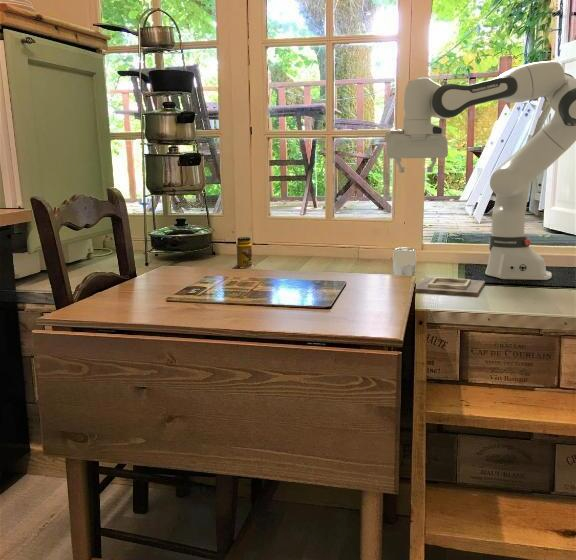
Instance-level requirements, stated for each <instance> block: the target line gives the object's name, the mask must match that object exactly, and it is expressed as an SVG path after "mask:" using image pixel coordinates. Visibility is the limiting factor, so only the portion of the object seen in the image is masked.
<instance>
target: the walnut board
mask: <svg viewBox="0 0 576 560" xmlns="http://www.w3.org/2000/svg"><path fill="white" fill-rule="evenodd" d="M485 284H486V281H485V280H481V279H479V280H477V279H476V280H475V279H469V278H457V277H456V278H455V277H454V278H453V277H439V276H438V277H424V278H423V279H422V280H421V281H419V282H418V283H417V284H416V285H415V286H416V292H415V293H420V294H431V295H432V294H433V295H436V294H437V295H450V296H451V295H452V296H465V297H478V296H479V295H480V293H481V291H482V290H483V288H484V286H485Z"/></svg>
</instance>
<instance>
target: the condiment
mask: <svg viewBox="0 0 576 560" xmlns="http://www.w3.org/2000/svg"><path fill="white" fill-rule="evenodd" d="M236 239H237V241H236V242H237V244H236V262H237V263H236V264H233V265H232V267H244V268H243V269H253V268H254V266H255V264H253V249H252V248H253V247H252V243H251V242H252V241H251V237H250V236H240V237H237V238H236ZM250 267H251V268H250Z"/></svg>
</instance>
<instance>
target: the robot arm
mask: <svg viewBox="0 0 576 560" xmlns="http://www.w3.org/2000/svg"><path fill="white" fill-rule="evenodd" d="M539 98H543V99H544V100H545V101H546V103H548V105H549V106H550V108H551V109H552V110H553V111H554V115H553V116H552V118H551V119H550V121H549V122H547V123H546V124H545V125H544V126H542V127H541V129H540V130H539V131H537V132H536V134H534V136H532V138H530V139H529V140H528V141H527V142H526V143H525V144H524V145H523V146H522V147H521V148H519V150H517V151H516V152H514V154H513V155H511V156H510V157H509V158H508V159H507V160H506V161H504V162H503V163H502V164H501V165H500V166H498V167H497V169H496V170H494V172H493V173H492V174H491V176H490V181H489V186H490V190H492V192H493V193H494V194H495V200H494V201H495V202H494V206H493V210H492V215H491V216H492V217H491V235H490V236H489V246H488V247H489V248H488V249H489V257H488V261H487V267H486V269H485V272H484V274H485V275H487V276H488V277H489V276H490V277H495V278H499V279H501V280H533V281H535V280H537V281H539V280H540V281H547V280H550V279H551V278H552V275H553V274H552V272H551V271H548V270H547V268H546V262H545V259H544V258H543V256H541V255H540V254H538V252H536V251H535V250H534V249H533V248H531V247H530V244H531V238H529V237H527V236H526V235H525V226H526V224H525V223H526V222H525V221H526V210H527V205H528V198H529V191H530V183H532V182H533V181H534V180H535V179H536V178H537V177H539V176H540V175H541V174H543V172H545V171H546V170H547V169H548V168H549V167H550V166H551V165H553V164H554V163H555V162H556V161H557V160H558V159H559V158H561V156H563V154H565V153H566V151H568V150H569V149H570V148H571V147H572V146H573V144H575V142H576V78H575V77H574V76H573V75H572V74H569V73H567V72H565V70H564V67H563V66H562V64H560V62H558V61H556V60H546V61H535V62H532V63H528V64H527V63H526V64H523V65H520V66H517V67H514V68H510V69H509V70H506V71H505V72H502V73H501V74H500V75H499V76H496V77H494V78H492V79H489V80H484V81H481V82H476V83H472V84H467V85H461V84H457V83H446V84H442V85H441V84H439V83H437V82H435V81H433V80H432V79H431V78H430V77H426V76H425V77H417V78H415V79H414V78H413V79H411V80H410V81H409V82H408V83H407V84H406V86H405V90H404V99H403V109H404V117H403V122H402V123H403V128H402V129H390V130H389V131H387V132H386V133H385V136H384V141H385V143H386V144H385V145H386V146H385V152H384V155H385V157H386V159H395V163H396V165H397V167H398V173H403V174H404V173H405V167H404V166H402V164H401V162H402V159H430V162H431V164H430V165H429V166H427V167H426V169H427V170H426V173H433V172H434V170H433V169H434V166H435V165H436V163H437V160H438V159H445V158H447V156H448V154H449V153H448V152H449V150H448V149H449V148H448V145H449V144H448V139H447V137H446V136H445V133H446V128H445V127H442V126H439V125H437V124H436V125H435V124H432V118H437V119H441V120H447V119H450V118H454V117H456V116H459V114H461V113H463V111H466V109H467V108H470V107H474V106H477V105H481V104H485V103H489V102H493V101H502V102H505V103H507V104H510V103H511V104H513V103H514V104H515V103H522V102H527V101H531V100H532V101H533V100H535V99H539Z"/></svg>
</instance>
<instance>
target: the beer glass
mask: <svg viewBox="0 0 576 560" xmlns="http://www.w3.org/2000/svg"><path fill="white" fill-rule="evenodd" d="M416 254H417V253H416V248H413V247H397V248H396V247H395V248H393V256H392V271H393V276H394V275H406V276H414V277H415V274H416V268H417V267H416V266H417V255H416Z"/></svg>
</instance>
